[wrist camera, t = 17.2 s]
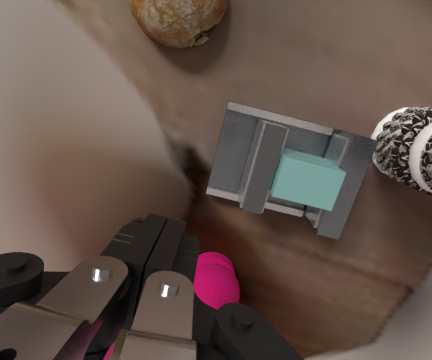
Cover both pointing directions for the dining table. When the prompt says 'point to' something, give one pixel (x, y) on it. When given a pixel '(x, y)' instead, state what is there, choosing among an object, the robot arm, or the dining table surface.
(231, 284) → the pepper mill
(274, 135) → the bar
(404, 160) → the white patterned cylinder
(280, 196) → the teal block
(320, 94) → the dining table surface
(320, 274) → the dining table surface
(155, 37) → the bread roll
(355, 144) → the vise
